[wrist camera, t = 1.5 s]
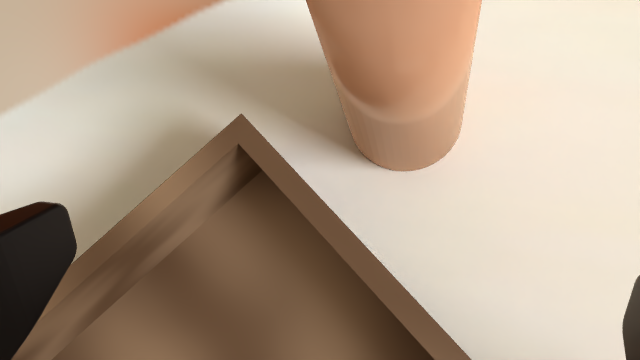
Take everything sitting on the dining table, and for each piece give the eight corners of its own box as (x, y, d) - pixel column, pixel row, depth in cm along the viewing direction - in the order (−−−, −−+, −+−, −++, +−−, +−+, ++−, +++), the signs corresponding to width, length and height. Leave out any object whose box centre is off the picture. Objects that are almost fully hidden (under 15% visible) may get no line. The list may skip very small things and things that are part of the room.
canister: (403, 194, 23) (377, 11, 10) (327, 118, 24) (227, -119, 12) (486, 117, 23) (556, -149, 11) (406, 47, 24) (388, -256, 12)
